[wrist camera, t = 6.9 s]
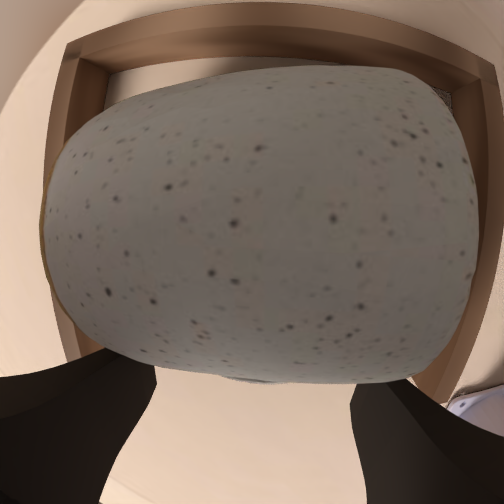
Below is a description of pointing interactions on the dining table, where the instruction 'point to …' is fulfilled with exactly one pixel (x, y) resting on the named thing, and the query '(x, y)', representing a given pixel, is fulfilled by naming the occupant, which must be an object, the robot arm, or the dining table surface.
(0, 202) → the dining table surface
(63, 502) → the robot arm
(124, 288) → the ceramic mug
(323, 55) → the walnut dock
